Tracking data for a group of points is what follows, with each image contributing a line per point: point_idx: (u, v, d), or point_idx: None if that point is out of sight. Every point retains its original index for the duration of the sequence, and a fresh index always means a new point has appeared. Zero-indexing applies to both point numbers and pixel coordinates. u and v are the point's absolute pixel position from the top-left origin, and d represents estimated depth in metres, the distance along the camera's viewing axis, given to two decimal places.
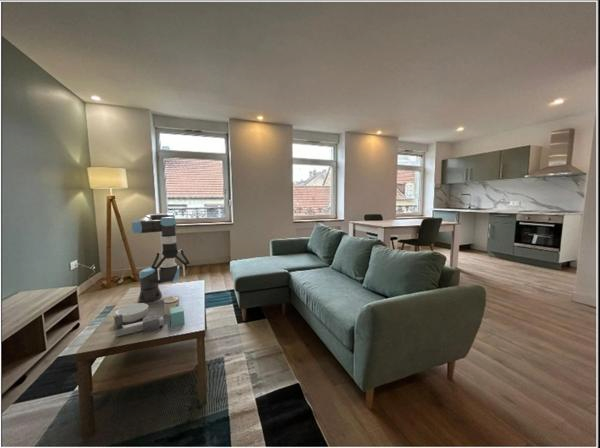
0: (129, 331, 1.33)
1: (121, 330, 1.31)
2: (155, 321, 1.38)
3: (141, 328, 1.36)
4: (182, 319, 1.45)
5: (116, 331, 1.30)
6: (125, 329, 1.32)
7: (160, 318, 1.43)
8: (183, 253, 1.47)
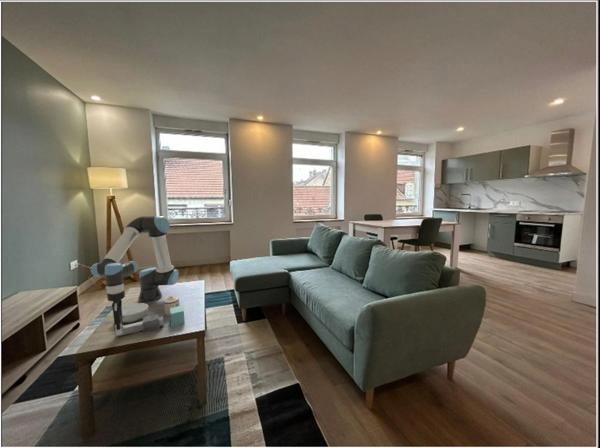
0: (129, 331, 1.33)
1: None
2: (155, 321, 1.38)
3: (141, 328, 1.36)
4: (182, 319, 1.45)
5: None
6: (125, 329, 1.32)
7: (160, 318, 1.43)
8: (114, 312, 1.26)
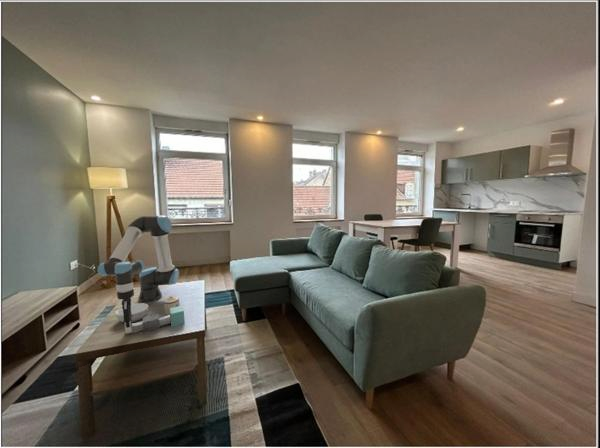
0: (138, 329, 1.36)
1: None
2: (155, 321, 1.38)
3: None
4: (182, 319, 1.45)
5: None
6: (134, 327, 1.35)
7: (168, 316, 1.45)
8: (124, 310, 1.28)
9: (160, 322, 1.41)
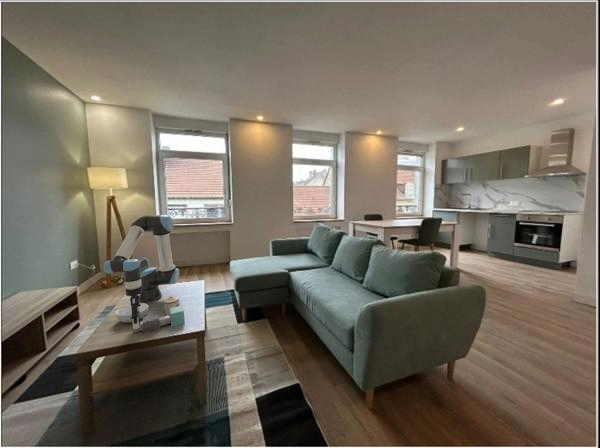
0: None
1: None
2: (155, 321, 1.38)
3: None
4: (182, 319, 1.45)
5: None
6: (142, 325, 1.37)
7: None
8: (132, 304, 1.29)
9: (167, 320, 1.43)
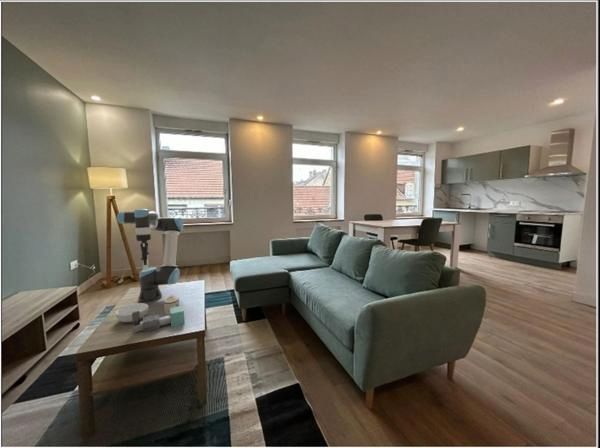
0: None
1: (138, 326, 1.36)
2: (155, 321, 1.38)
3: None
4: (182, 319, 1.45)
5: (134, 327, 1.34)
6: (142, 325, 1.37)
7: None
8: (142, 247, 1.43)
9: (167, 320, 1.43)
